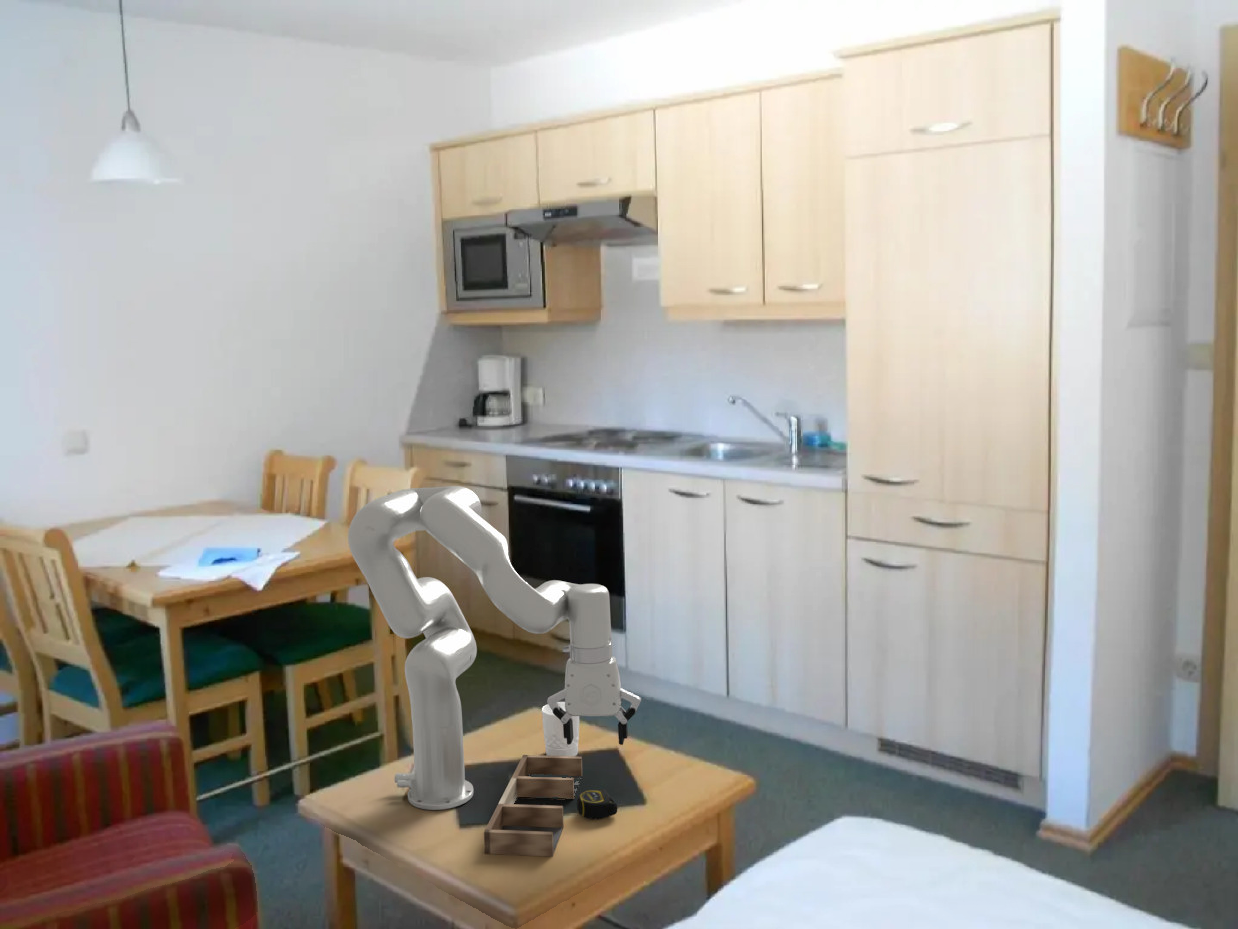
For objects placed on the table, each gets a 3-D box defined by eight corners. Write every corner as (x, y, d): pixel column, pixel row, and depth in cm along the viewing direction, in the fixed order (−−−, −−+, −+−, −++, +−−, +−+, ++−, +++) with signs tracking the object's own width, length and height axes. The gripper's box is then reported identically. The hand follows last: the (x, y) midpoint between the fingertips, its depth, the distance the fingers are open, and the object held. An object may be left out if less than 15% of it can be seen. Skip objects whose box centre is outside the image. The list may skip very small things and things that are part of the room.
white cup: (539, 749, 243) (537, 704, 241) (575, 744, 245) (573, 699, 244) (548, 763, 235) (546, 717, 234) (585, 758, 238) (583, 712, 236)
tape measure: (618, 820, 210) (618, 801, 210) (583, 826, 208) (582, 806, 208) (607, 804, 217) (607, 785, 216) (572, 810, 215) (572, 791, 214)
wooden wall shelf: (484, 853, 198) (483, 832, 198) (523, 773, 231) (523, 755, 230) (552, 856, 197) (551, 834, 196) (582, 775, 229) (581, 756, 229)
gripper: (540, 659, 205) (546, 749, 208) (636, 659, 203) (640, 750, 205) (548, 646, 212) (553, 734, 215) (640, 645, 210) (644, 734, 213)
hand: (596, 742), depth 210 cm, fingers open, 9 cm apart
